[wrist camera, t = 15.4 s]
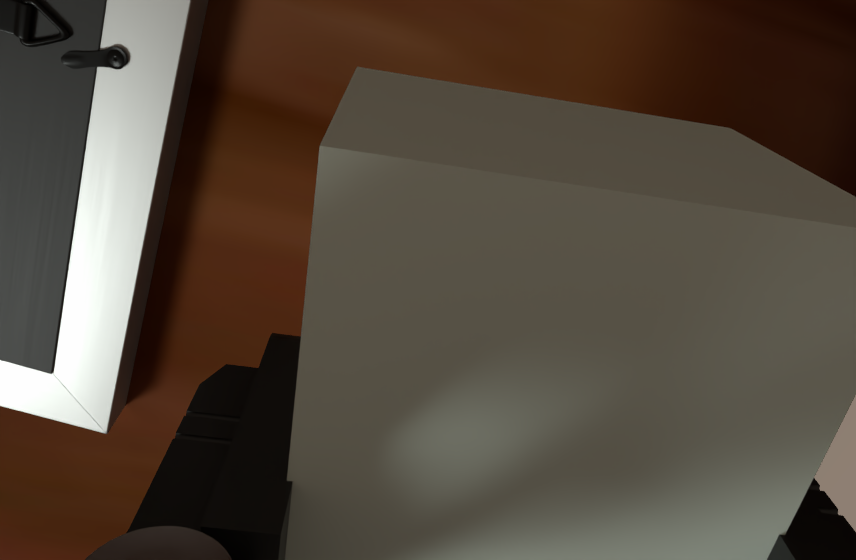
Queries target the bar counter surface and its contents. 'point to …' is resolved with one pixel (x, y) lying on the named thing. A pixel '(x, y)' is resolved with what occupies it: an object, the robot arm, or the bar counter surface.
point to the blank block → (561, 333)
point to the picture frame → (85, 191)
